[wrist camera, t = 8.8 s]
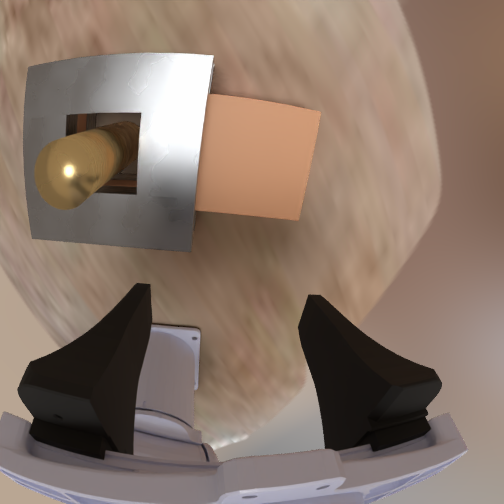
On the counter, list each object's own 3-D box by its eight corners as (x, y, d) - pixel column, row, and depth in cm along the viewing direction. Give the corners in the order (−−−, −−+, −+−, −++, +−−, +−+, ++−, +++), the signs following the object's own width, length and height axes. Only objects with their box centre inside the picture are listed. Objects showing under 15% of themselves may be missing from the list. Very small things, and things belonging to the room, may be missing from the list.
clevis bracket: (195, 222, 21) (191, 252, 17) (60, 213, 19) (32, 238, 15) (214, 66, 16) (213, 55, 12) (62, 70, 14) (28, 66, 10)
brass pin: (142, 165, 18) (92, 213, 11) (102, 162, 18) (35, 206, 10) (147, 123, 17) (95, 140, 9) (106, 120, 16) (34, 138, 9)
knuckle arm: (288, 205, 21) (298, 220, 19) (78, 189, 18) (61, 202, 16) (307, 110, 18) (321, 112, 15) (81, 94, 15) (61, 94, 13)
